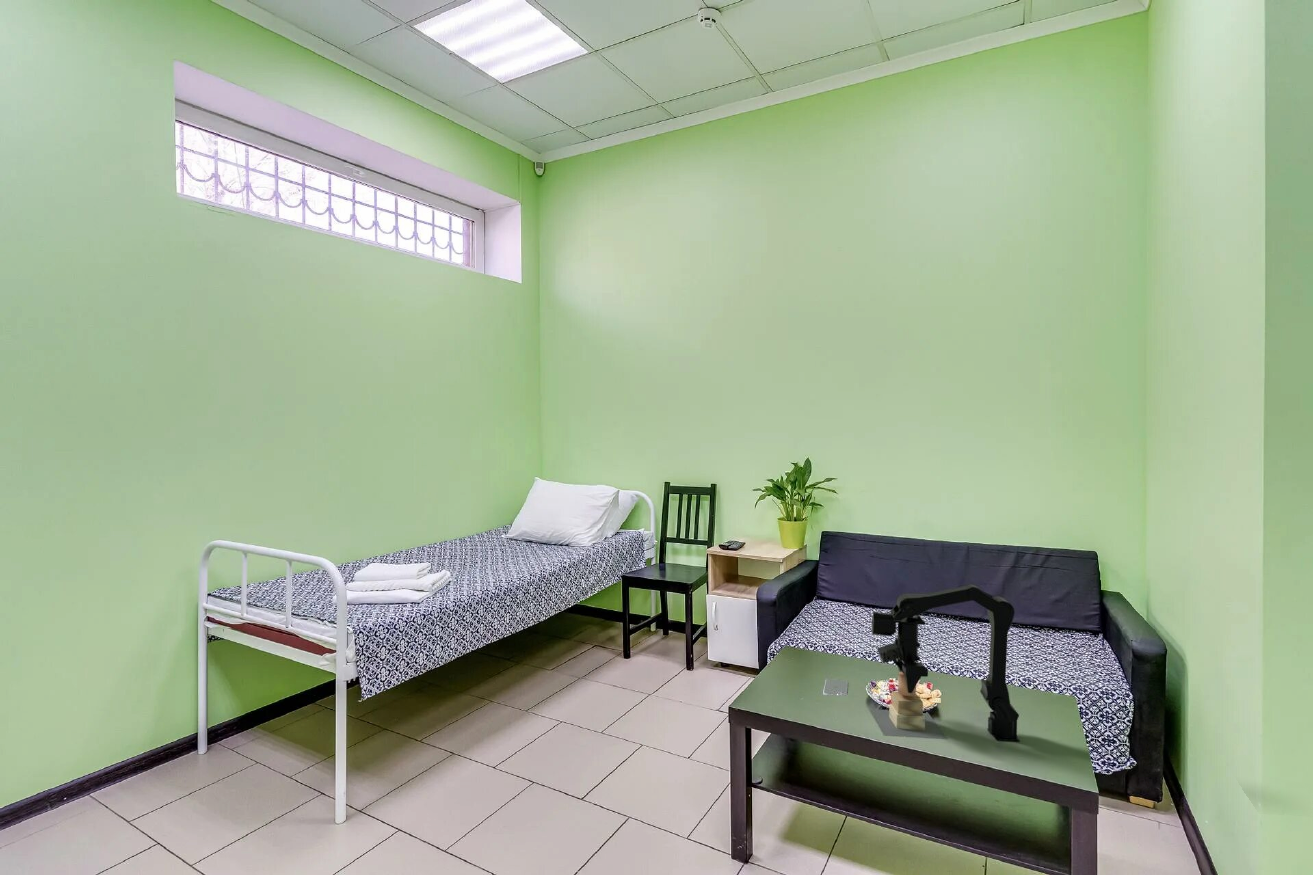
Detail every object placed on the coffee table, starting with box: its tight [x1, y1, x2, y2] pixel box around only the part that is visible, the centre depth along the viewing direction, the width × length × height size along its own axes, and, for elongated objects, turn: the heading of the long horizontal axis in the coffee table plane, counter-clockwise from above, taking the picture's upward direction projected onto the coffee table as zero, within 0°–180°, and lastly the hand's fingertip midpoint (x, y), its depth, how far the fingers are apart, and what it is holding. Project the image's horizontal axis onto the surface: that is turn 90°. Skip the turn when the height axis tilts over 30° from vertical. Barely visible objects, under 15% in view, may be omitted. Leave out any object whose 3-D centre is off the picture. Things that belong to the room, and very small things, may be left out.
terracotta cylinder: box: [897, 672, 917, 696], centre depth 188 cm, size 5×5×6 cm
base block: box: [888, 703, 925, 730], centre depth 188 cm, size 8×8×4 cm
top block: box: [891, 691, 924, 716], centre depth 188 cm, size 7×7×4 cm
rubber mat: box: [868, 708, 949, 740], centre depth 188 cm, size 18×18×1 cm
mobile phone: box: [822, 678, 849, 697], centre depth 215 cm, size 8×1×15 cm
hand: (907, 689), depth 188 cm, fingers closed on terracotta cylinder, 5 cm apart
